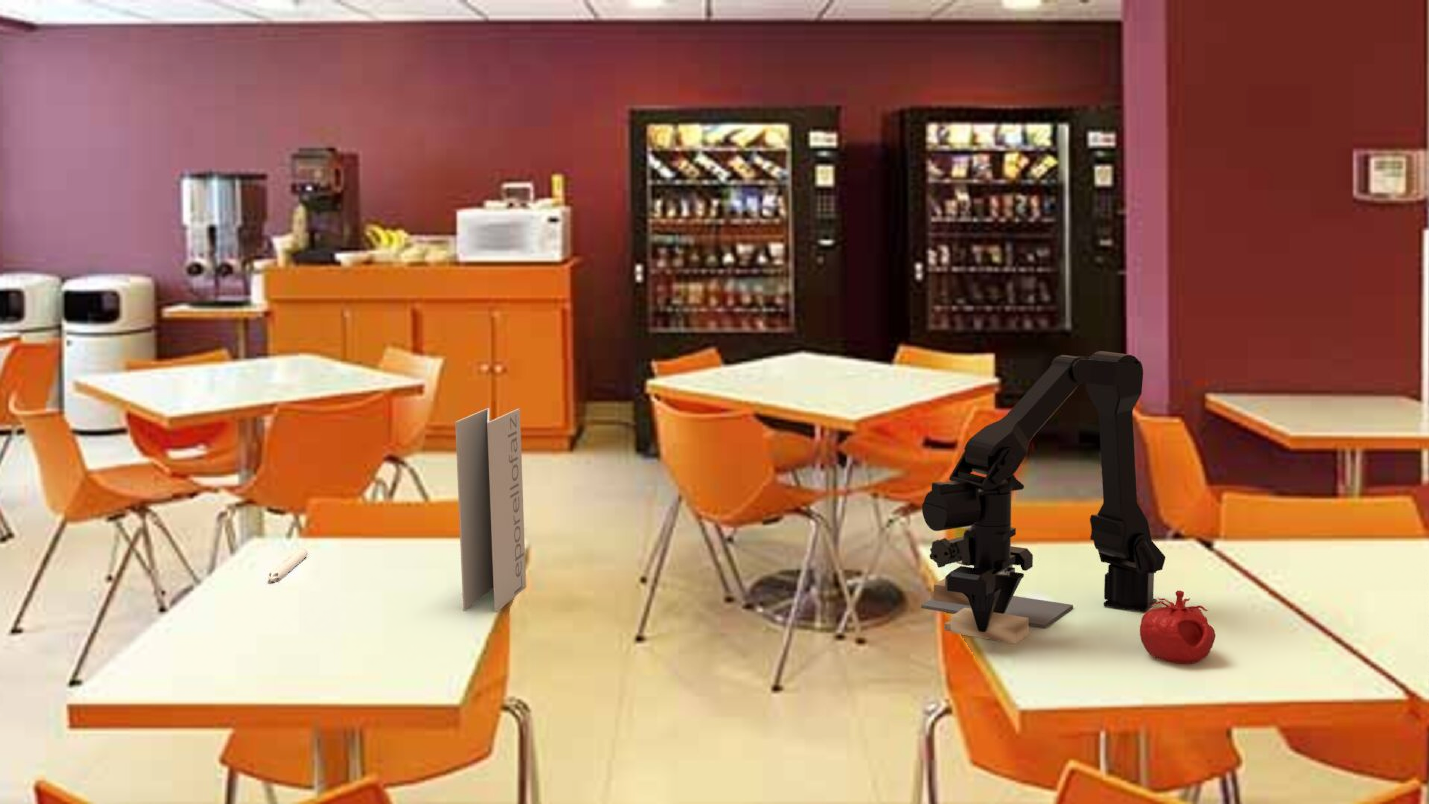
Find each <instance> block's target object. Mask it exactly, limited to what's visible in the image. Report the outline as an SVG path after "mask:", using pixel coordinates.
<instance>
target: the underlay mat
mask: <svg viewBox="0 0 1429 804" xmlns="http://www.w3.org/2000/svg"><path fill="white" fill-rule="evenodd" d="M920 608H921V609H925V610H931V611H937V612H941V613H948V614H955V613H957V612H958V611H960V610H962V609H963V608H970V609H971V606H968V605H962V604H956V603H950V602H943V601H937V600H934V597H933V598H931V599H929V600H927V601H926V602H924V603H922V604H921V605H920ZM1073 608H1074V604H1070V603H1063V602H1056V601H1051V600H1050V601H1049V600H1043V599H1038V598H1031V597H1025V596H1018V595H1013V597H1012V599H1011V601H1010V603H1009V605H1008V607H1007V609H1006V611H1005V613H1004V614H1008V615H1014V616H1020V617H1026V618H1029V627H1035V628H1041V629H1046V628H1048V627H1049V626H1050V625H1052V624H1053V623H1055V622H1056V621H1057V620H1058V619H1060V618H1061V617H1062V616H1064V615H1065V614H1067V613H1068V612H1070V611H1071V610H1073Z"/></svg>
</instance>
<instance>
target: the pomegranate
mask: <svg viewBox="0 0 1429 804" xmlns="http://www.w3.org/2000/svg"><path fill="white" fill-rule="evenodd" d="M1184 595H1185V592H1184V591H1183V590H1176V591H1175V596H1176V600H1175V603H1174V601H1173V602H1172V601H1169V600H1168V599H1166V598H1159V597H1157V599H1158V600H1159V601H1157V602H1156V603H1154V604H1153V606H1155V605H1158V604H1162V605H1164V606H1162V607H1161V606H1160V607H1156V608H1152V609H1148V610H1147V611H1145V612H1144V613H1143V615H1142V617H1141V622H1140V625H1139V637H1140V640H1141V644H1142V645H1143V647H1144V649H1145V651H1146V652H1147V653H1149V655H1150V656H1151V657H1154V658H1155V659H1157V660H1161V661H1164V662H1167V663H1173V664H1181V665H1183V664H1185V665H1187V664H1188V665H1189V664H1195V663H1198V662H1200V661H1201V660H1203V659H1205V658H1207V657H1208V655H1209V654H1210V653H1211V650H1212V649H1213V646H1214V643H1215V640H1216V631H1215V629H1214V628H1213V626H1212V625H1211V624H1209V621H1208V619H1207V616H1205V615H1204V613H1203V612H1202V610H1203V611H1204V612H1207V611H1209V609H1206V608H1205V607H1204V606H1203V605H1196V606H1195V605H1193V606H1186V603H1187V602H1190V600H1191V598H1190V597H1188V598H1184ZM1183 598H1184V599H1183ZM1164 601H1165V602H1167V603H1165V602H1164ZM1149 606H1152V605H1149ZM1153 606H1152V607H1153ZM1201 609H1202V610H1201Z"/></svg>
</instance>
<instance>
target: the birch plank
mask: <svg viewBox="0 0 1429 804" xmlns="http://www.w3.org/2000/svg"><path fill="white" fill-rule="evenodd" d="M1029 627H1030V626H1029V618H1026V617H1020V616H1014V615H1008V614H1001V613H995V612H993V614H992V617H991V620H990V623H989V625H988V628H987V630H986V632H980V631H978V628H977V625H976V622H975V619H974V615H973V612H972V609H970V608H963V609H962V610H960V611H958V612H957V613H955V614H954V613H952V615H951V616H950V619H949V620H948V621H946V622H944V631H945V632H950V634H951V633H952V634H956V635H962V636H967V637H968V636H969V637H974V638H980V639H986V640H992V641H998V642H1003V643H1009V644H1017V643H1019V642H1020V641H1022V640H1023V639H1024V638H1026V636H1028V635H1029Z"/></svg>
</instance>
